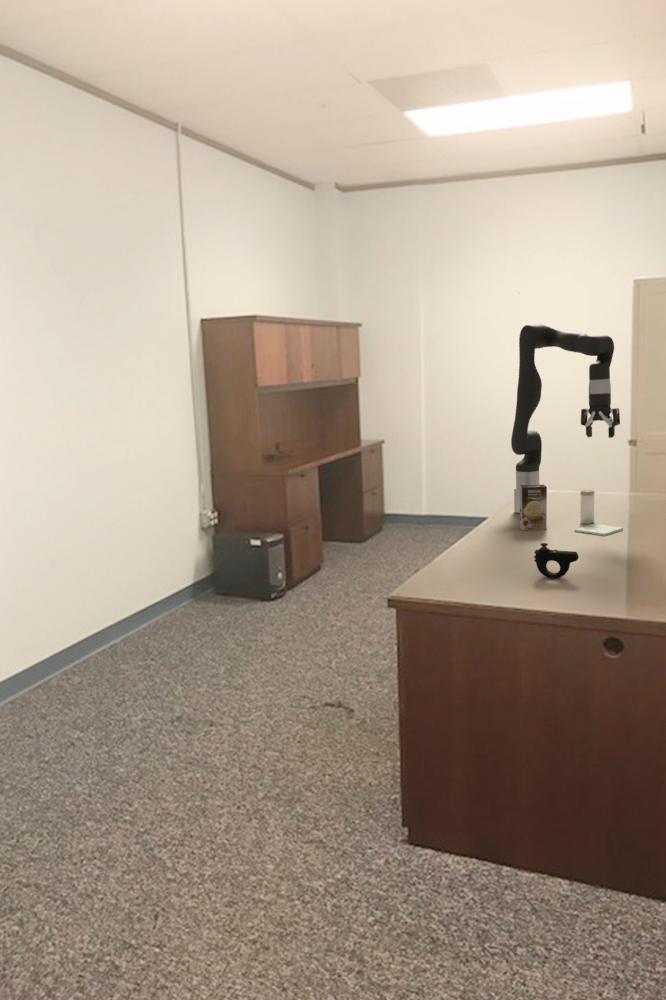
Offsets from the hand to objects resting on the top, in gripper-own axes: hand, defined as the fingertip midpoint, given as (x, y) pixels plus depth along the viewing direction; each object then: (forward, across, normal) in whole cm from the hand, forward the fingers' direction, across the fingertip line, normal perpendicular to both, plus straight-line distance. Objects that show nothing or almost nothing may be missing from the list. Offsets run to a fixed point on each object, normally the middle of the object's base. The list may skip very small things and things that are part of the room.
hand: (600, 437), depth 288 cm
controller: (+34, +26, -69) cm, 81 cm away
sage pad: (+33, +3, -7) cm, 34 cm away
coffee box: (+33, -18, -17) cm, 41 cm away
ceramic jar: (+33, -8, +3) cm, 34 cm away
